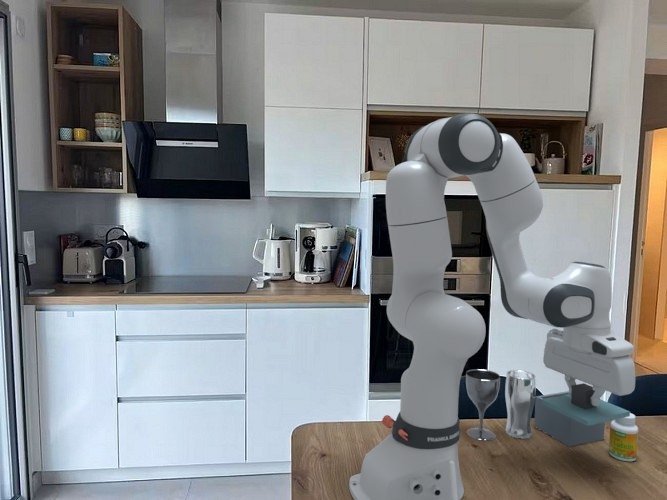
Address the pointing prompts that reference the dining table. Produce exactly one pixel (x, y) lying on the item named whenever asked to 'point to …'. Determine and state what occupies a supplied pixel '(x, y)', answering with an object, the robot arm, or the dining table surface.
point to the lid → (584, 406)
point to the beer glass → (519, 402)
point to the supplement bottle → (624, 438)
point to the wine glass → (482, 398)
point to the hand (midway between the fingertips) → (583, 400)
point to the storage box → (565, 425)
